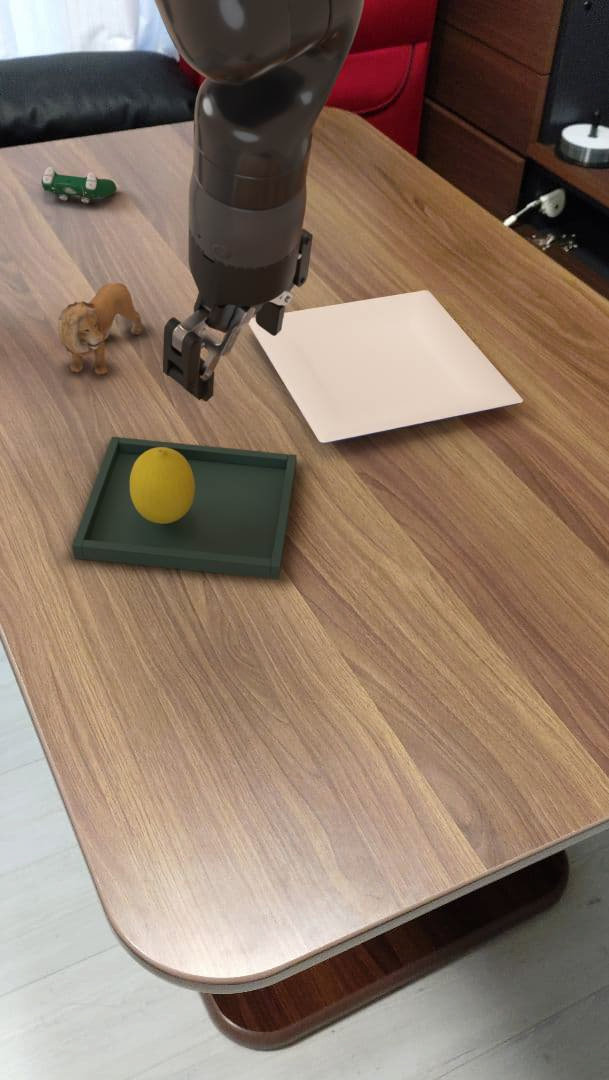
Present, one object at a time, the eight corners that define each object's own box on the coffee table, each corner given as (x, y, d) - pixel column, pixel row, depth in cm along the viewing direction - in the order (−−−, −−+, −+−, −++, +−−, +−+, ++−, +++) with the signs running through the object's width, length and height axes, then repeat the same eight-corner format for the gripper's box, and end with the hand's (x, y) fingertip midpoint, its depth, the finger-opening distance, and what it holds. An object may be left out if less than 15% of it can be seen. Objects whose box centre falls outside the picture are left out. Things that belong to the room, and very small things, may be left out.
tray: (73, 558, 83) (71, 545, 82) (113, 449, 93) (111, 436, 92) (279, 579, 82) (280, 566, 81) (296, 467, 93) (296, 454, 92)
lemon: (153, 551, 83) (147, 481, 78) (121, 513, 86) (114, 444, 81) (208, 526, 86) (206, 457, 80) (175, 491, 89) (171, 421, 83)
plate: (245, 333, 108) (245, 317, 107) (425, 303, 115) (428, 287, 113) (319, 458, 94) (320, 441, 92) (520, 415, 100) (525, 399, 99)
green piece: (47, 203, 131) (32, 187, 125) (51, 175, 131) (36, 158, 125) (114, 212, 130) (101, 196, 124) (118, 184, 130) (106, 167, 124)
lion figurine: (104, 398, 99) (96, 321, 92) (54, 389, 99) (42, 313, 93) (149, 321, 109) (144, 248, 102) (104, 314, 109) (96, 240, 103)
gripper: (270, 131, 67) (255, 282, 82) (129, 249, 62) (139, 388, 77) (355, 190, 66) (324, 333, 81) (218, 315, 61) (211, 444, 75)
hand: (234, 359), depth 79 cm, fingers open, 8 cm apart
